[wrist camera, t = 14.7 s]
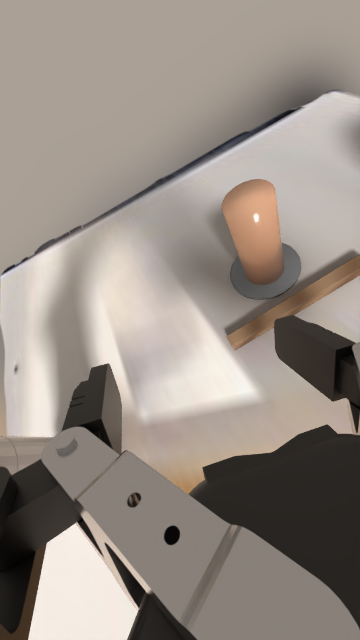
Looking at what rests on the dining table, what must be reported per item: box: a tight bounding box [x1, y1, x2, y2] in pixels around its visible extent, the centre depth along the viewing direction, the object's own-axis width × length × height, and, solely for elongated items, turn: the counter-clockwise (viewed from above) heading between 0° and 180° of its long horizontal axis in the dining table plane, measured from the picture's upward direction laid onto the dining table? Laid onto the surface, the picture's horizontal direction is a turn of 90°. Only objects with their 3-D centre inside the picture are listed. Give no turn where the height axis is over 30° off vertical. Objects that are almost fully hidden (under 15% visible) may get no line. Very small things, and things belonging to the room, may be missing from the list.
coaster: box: [231, 243, 301, 299], centre depth 37 cm, size 10×10×1 cm
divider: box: [226, 255, 360, 350], centre depth 32 cm, size 20×2×2 cm, turn 115°
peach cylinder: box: [222, 179, 284, 285], centre depth 32 cm, size 6×6×13 cm
